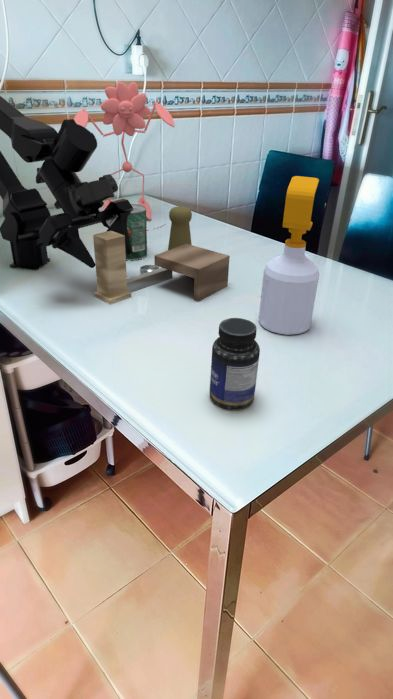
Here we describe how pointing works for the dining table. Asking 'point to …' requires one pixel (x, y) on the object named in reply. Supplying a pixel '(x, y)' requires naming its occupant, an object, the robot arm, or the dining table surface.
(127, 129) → the pink daisy figurine
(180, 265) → the plinth
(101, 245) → the blade tool
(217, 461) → the dining table surface
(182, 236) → the olive pawn figure
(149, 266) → the steel token
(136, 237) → the canned tomato
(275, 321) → the soap bottle
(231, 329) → the pill bottle
